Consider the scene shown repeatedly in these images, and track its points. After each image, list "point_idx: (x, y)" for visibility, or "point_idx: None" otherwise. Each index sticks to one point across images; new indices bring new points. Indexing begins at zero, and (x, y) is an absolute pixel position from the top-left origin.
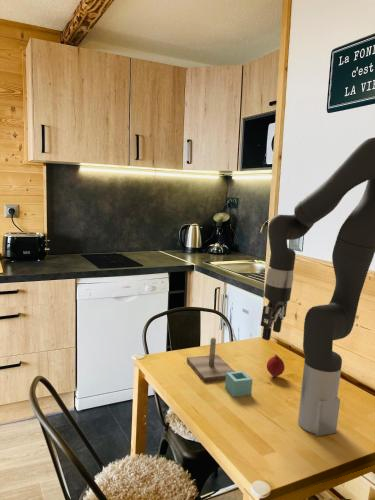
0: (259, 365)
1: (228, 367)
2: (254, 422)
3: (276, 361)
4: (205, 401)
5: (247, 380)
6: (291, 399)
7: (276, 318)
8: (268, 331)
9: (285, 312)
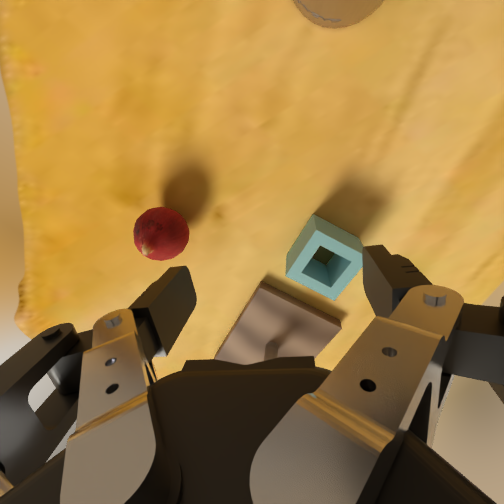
0: (157, 278)
1: (248, 317)
2: (454, 122)
3: (163, 234)
4: (427, 272)
5: (331, 237)
6: (249, 118)
7: (376, 342)
8: (424, 283)
9: (25, 356)
